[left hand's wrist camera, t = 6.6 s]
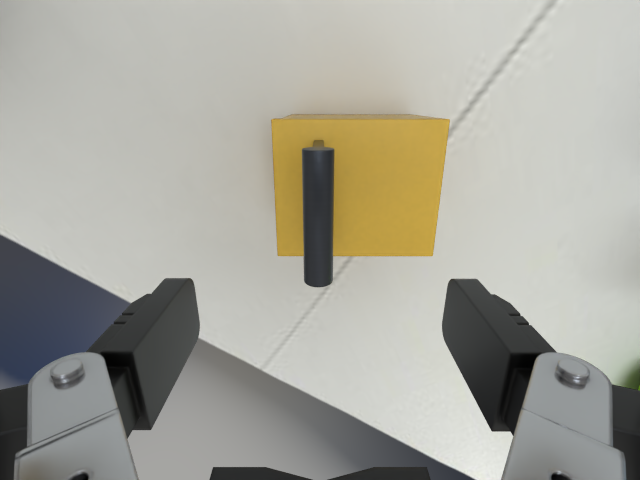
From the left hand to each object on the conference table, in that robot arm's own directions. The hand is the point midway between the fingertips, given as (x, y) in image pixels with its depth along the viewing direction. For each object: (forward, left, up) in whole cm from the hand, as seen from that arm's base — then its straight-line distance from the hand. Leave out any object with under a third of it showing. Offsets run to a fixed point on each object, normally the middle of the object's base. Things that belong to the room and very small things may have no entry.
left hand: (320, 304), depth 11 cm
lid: (+3, 0, -16) cm, 17 cm away
